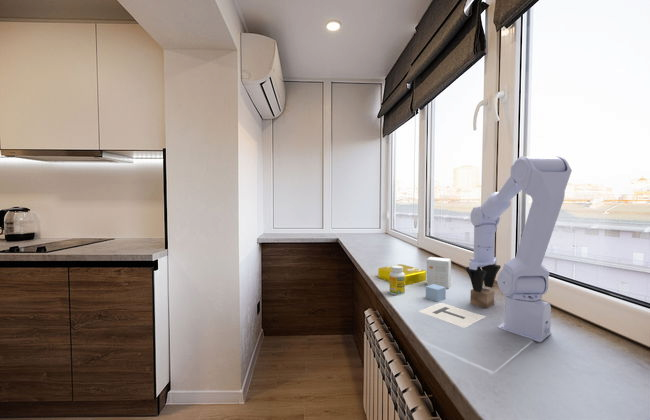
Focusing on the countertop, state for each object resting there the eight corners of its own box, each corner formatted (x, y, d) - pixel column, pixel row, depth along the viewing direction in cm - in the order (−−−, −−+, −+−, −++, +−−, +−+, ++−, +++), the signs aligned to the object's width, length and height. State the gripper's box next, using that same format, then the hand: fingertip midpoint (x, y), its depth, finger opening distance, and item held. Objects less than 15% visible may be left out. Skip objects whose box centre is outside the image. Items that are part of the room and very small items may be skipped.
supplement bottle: (396, 290, 108) (396, 264, 108) (408, 294, 104) (408, 267, 103) (386, 292, 105) (386, 266, 105) (397, 296, 101) (397, 269, 100)
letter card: (485, 317, 84) (485, 316, 83) (464, 329, 76) (464, 327, 76) (440, 303, 95) (440, 302, 95) (418, 312, 87) (418, 311, 87)
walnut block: (494, 306, 93) (494, 290, 92) (486, 310, 90) (487, 294, 89) (477, 301, 97) (478, 286, 96) (470, 305, 93) (470, 289, 93)
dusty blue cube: (445, 300, 98) (445, 287, 98) (437, 303, 95) (438, 289, 95) (433, 296, 101) (433, 283, 101) (425, 299, 99) (425, 286, 98)
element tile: (400, 273, 134) (400, 262, 134) (428, 281, 121) (428, 269, 121) (376, 278, 126) (376, 266, 126) (403, 287, 113) (403, 274, 113)
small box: (451, 285, 114) (451, 258, 113) (448, 289, 109) (448, 261, 109) (429, 282, 118) (430, 256, 118) (426, 286, 113) (426, 258, 113)
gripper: (481, 242, 100) (480, 282, 100) (459, 246, 91) (458, 290, 91) (504, 245, 94) (503, 287, 95) (483, 249, 85) (482, 296, 86)
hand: (483, 289), depth 93 cm, fingers open, 7 cm apart
